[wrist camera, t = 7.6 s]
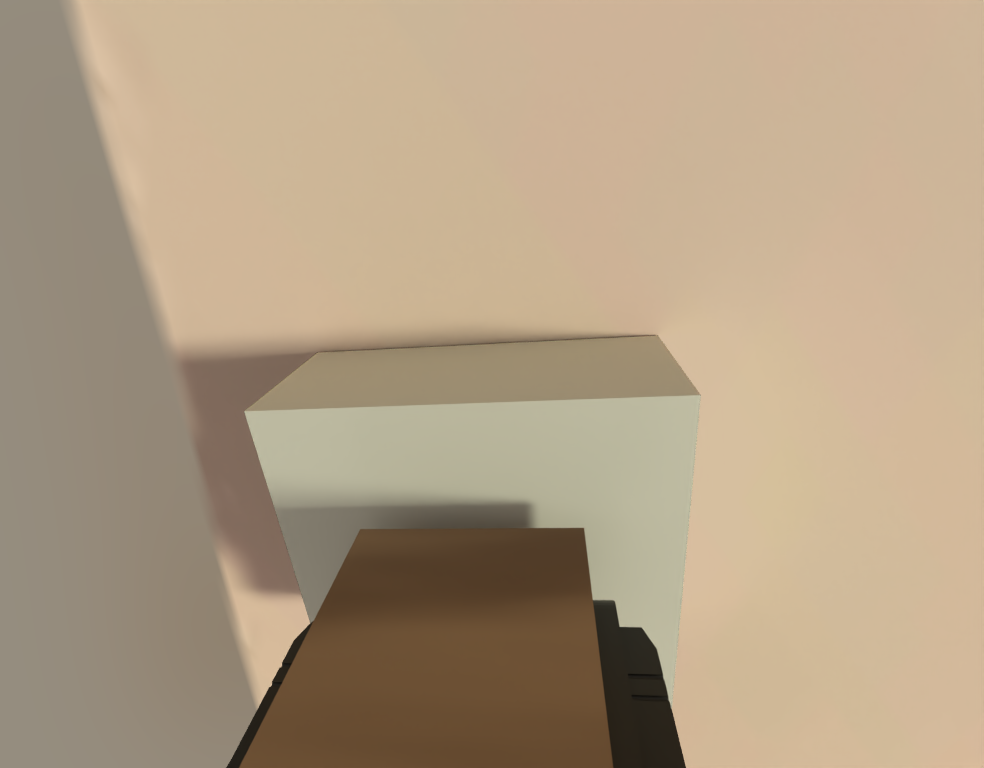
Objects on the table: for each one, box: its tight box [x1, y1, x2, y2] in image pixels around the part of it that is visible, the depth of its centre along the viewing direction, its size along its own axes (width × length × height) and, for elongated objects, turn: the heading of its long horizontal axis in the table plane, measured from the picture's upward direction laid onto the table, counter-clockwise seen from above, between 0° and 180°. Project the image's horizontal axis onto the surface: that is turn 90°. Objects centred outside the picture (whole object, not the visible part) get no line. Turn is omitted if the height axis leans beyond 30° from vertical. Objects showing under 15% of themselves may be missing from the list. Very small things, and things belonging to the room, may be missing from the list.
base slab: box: [244, 335, 701, 709], centre depth 14 cm, size 10×10×4 cm
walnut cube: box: [239, 528, 613, 768], centre depth 9 cm, size 5×5×5 cm
